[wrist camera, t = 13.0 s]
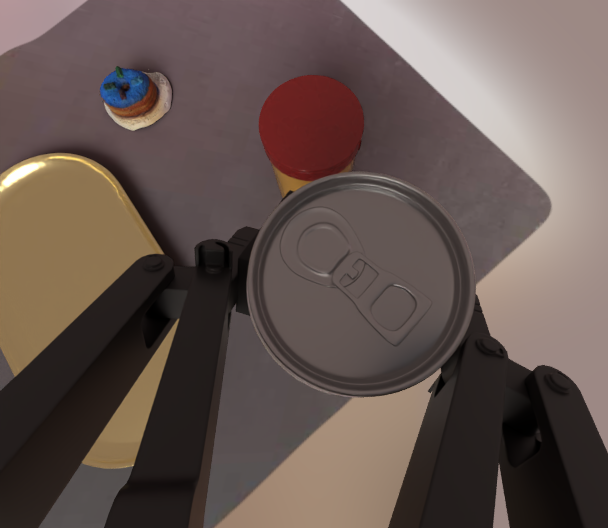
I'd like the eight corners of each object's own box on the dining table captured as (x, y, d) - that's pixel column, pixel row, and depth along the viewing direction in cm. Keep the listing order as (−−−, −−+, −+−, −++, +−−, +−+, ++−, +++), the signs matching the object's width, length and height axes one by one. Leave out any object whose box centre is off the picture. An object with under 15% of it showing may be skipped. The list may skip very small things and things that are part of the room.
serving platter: (90, 130, 36) (80, 121, 35) (253, 386, 31) (250, 390, 29) (-49, 220, 35) (-65, 215, 34) (93, 502, 30) (81, 512, 28)
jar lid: (375, 107, 25) (379, 91, 23) (342, 195, 24) (344, 185, 22) (283, 80, 26) (280, 62, 24) (248, 163, 25) (242, 152, 23)
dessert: (113, 139, 35) (77, 81, 31) (121, 121, 40) (90, 69, 36) (181, 118, 36) (155, 59, 32) (181, 103, 40) (158, 50, 36)
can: (330, 230, 20) (343, 109, 8) (409, 296, 19) (551, 264, 7) (264, 305, 20) (177, 289, 8) (342, 376, 19) (377, 482, 7)
